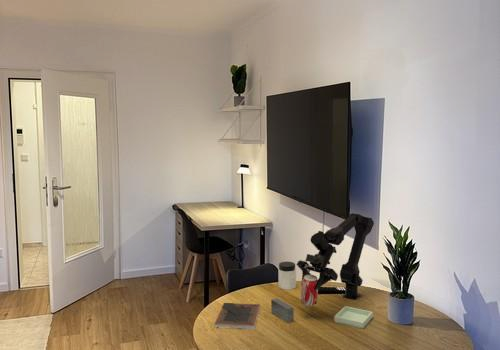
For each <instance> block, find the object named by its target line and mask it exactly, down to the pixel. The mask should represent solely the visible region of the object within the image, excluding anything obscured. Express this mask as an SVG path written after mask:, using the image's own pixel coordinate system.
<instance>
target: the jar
mask: <svg viewBox="0 0 500 350" xmlns="http://www.w3.org/2000/svg"><path fill="white" fill-rule="evenodd" d="M277 271H278V277H277V278H278V280H277V281H278V282H277V283H278V288H279V289H281V290H286V291H291V290H293V289H296V288H297V269H296V263H295V262H292V261H280V262H279V263H278V269H277Z"/></svg>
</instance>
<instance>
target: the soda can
mask: <svg viewBox="0 0 500 350" xmlns="http://www.w3.org/2000/svg"><path fill="white" fill-rule="evenodd" d="M317 281H318V277H317V275H314V274H311V275H305V276H304V278H303V280H302V279H301V283H302V285H301V291H300V293H301V294H300V299H301V300H300V301H301V304H303V305H304V306H306V307H313V306H316V305H317V304H318V298H319V288H318V289H317V290H315V289H314V287H315V285H316V283H317Z"/></svg>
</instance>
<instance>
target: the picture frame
mask: <svg viewBox="0 0 500 350" xmlns="http://www.w3.org/2000/svg"><path fill="white" fill-rule="evenodd" d="M260 310H261V304H259V303H234V302H224V303H223V304H222V307H221V309H220V311H219V313H218V316H217V317H216V320H215V321H214V325H213V327H214V326H217V327H230V328H241V329H240V330H249V329H250V330H252V331H253V330H254V331H255V328H256V325H257V320H258V317H259V312H260Z"/></svg>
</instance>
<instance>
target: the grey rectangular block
mask: <svg viewBox="0 0 500 350" xmlns="http://www.w3.org/2000/svg"><path fill="white" fill-rule="evenodd" d="M270 300H271V303H270V304H271V305H270V306H271V309H270V310H271V314H273V315H274V316H276V317H278V318H279V319H281V320H283V321H284V322H286V323H291V322H294V318H295V317H294V313H295V312H294V309H295V308H294V306H292V305H290V304H288V303H286V302H285V301H283V300H281V299H279V298H277V297H276V298H272V299H270Z"/></svg>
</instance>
